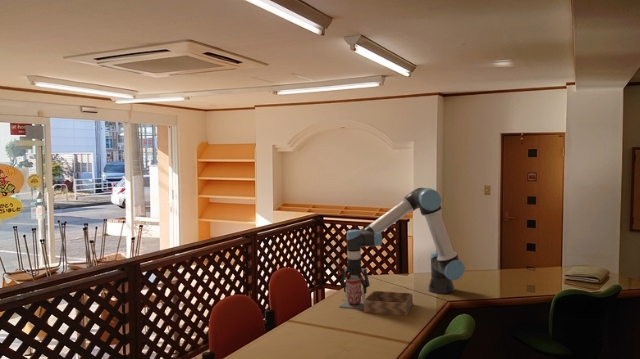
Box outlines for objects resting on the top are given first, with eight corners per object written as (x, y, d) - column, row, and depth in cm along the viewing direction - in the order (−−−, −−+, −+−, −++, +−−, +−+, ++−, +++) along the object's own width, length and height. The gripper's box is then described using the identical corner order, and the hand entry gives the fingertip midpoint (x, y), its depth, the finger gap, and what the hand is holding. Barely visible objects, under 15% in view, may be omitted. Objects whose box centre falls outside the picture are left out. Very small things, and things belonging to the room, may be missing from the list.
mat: (370, 301, 267) (370, 300, 267) (364, 309, 254) (364, 308, 254) (347, 300, 272) (347, 299, 272) (339, 307, 259) (339, 306, 259)
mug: (351, 305, 256) (351, 281, 255) (342, 301, 264) (342, 277, 263) (370, 301, 262) (370, 277, 261) (361, 297, 270) (361, 274, 269)
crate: (412, 304, 261) (412, 293, 261) (406, 315, 242) (405, 303, 242) (373, 301, 269) (373, 290, 269) (364, 312, 250) (363, 300, 250)
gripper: (374, 257, 262) (376, 298, 263) (337, 256, 269) (339, 295, 270) (371, 260, 255) (372, 302, 256) (333, 258, 262) (334, 299, 263)
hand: (355, 298), depth 263 cm, fingers closed on mug, 9 cm apart
